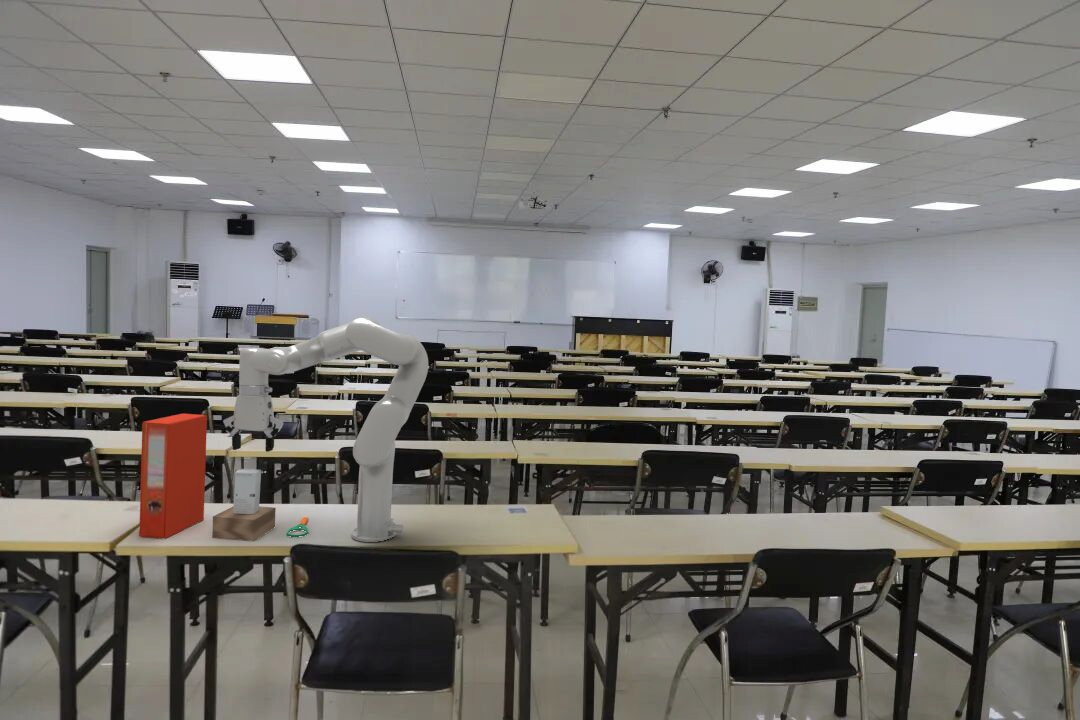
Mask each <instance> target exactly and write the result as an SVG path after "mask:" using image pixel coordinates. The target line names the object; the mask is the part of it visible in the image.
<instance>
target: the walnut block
mask: <svg viewBox="0 0 1080 720" xmlns="http://www.w3.org/2000/svg"><path fill="white" fill-rule="evenodd" d="M276 511H277V510H276V507H272V506H271V507H270V506H260V505H259V510H258V511H257V512H256V513H255V514H233V506H231V507H229V508H228V509H225V510H223V511H221V512H219V513H217V514H215V515H213V516H212V534H211V536H212V539H225V540H235V539H242V540H241V541H247V540H254V541H256V540H258V539H259V538H261V537H262V536H263V535H265V533H266V534H267V533H269V532H270V531H272V530H274V529H275V528H276ZM274 527H275V528H274ZM273 528H274V529H273ZM271 529H272V530H271ZM268 531H269V532H268ZM260 536H261V537H260ZM258 537H259V538H258ZM257 538H258V539H257ZM255 539H256V540H255Z"/></svg>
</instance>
